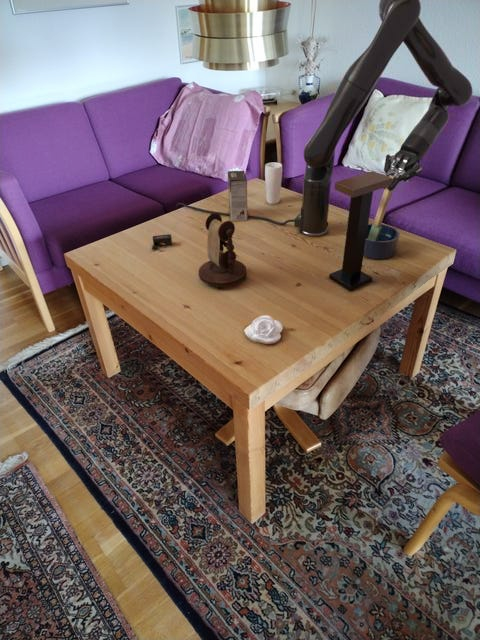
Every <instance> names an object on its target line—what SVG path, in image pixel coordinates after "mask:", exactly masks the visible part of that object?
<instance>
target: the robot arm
mask: <svg viewBox="0 0 480 640" xmlns="http://www.w3.org/2000/svg"><path fill="white" fill-rule="evenodd" d="M421 6H422V4H421V1H420V0H379V4H378V15H379V16H378V17H379V19H380V21H381V24H380V26H379V27H378V30H377V32H376V34H375V36H374V37H373V39H372V41H371V43H370V44H369V45H368V47H367V48H366V49H365V50H364V51H363V52H362V53H361V54H360V55H359V56H358V57H357V59H356V60H355V61H354V62H353V63H351V65H349V67H348V68H347V70H346V72H345V73H344V75H343V77H342V79H341V81H340V82H339V85H338V86H337V88H336V90H335V92H334V94H333V96H332V99H331V101H330V103H329V105H328V108H327V110H326V112H325V115H324V118H323V119H322V121H321V123H320V124H319V126H318V127H317V128H316V129H317V130H316V131H315V132H314V134H313V135H312V136H311V137H310V138H309V140H308V141H307V142H306V144H305V146H304V148H303V159H304V162H305V170H304V174H303V183H302V200H301V201H302V202H301V207H300V213H298V215H297V216H296V217H294V219H293V218H292V219H287V220H285V221H284V222H278V221H277V220H273V219H271V218H268V217H263V216H257V215H247V219H254V220H255V219H256V220H261V221H262V220H263V221H266V222H269V223H272V224H275V225H278V226H285V225H286V224H288V223H293V224H294V225H293V227H294V228H298V229H299V234H303V235H305V236H308V237H321V236H324V235H326V234H327V232H328V227H329V221H328V218H329V209H330V199H331V198H330V197H331V189H332V179H333V175H334V174H333V173H334V165H335V157H336V148H337V146H338V143H339V142H340V140H341V138H342V136H343V135H344V133H345V132H346V130H347V128H348V127H349V126H350V125H351V123H352V122H353V120H354V119H355V118H356V117H357V115H358V114H359V112H360V111H361V109H362V108H363V106H364V105H365V104H366V102H367V100H368V98H369V97H370V95H371V93H372V92H373V90H374V88H375V86H376V85H377V83H378V82H379V79H380V78H381V76H382V74H383V73H384V71H385V70H386V68H387V66H388V64H389V63H390V61H391V60H392V58H393V56H394V55H395V54H396V52H397V51H398V49H399V48H400V47H401V45H402V44H404V45H405V46H406V48H407V49H408V51H409V53H410V54H411V56H412V57H413V59H414V61H415V62H416V64H417V65H418V67H419V69H420V70H421V72H422V73H423V75H424V76H425V78H426V79H427V81H428V82H429V83H430V85H432V86H433V87H437V88H436V89H435V91H434V93H433V96H432V98H431V100H430V103H429V106H428V108H427V111H426V112H425V113H424V114H423V116H422V117H421V118H420V120H419V121H418V122H417V124H416V125H415V126H414V127H413V128H412V130H411V131H410V133H409V134H408V135H407V137H406V138H405V140H404V141H403V143H401V145H400V148H399V150H398V151H396V152H395V154H393V155H390V154H389V153H388V154H386V156H385V160H384V167H383V171H384V173H385V176H388V177H389V175H393V176H395V177H394V178H393V179H392V183H391V186H387V189H388V190H389V191H392V190H393V191H394V190H395V189H396V187H397V186H398V184H399V183H401V182H404V183H405V182H408V181H409V180H411V179H413V178H414V177H417V175H419V174H421V173H422V172H423V168H422V166H421V164H420V163H421V161H422V160H423V159H424V157H425V156H426V154H427V153H428V152H429V150H430V149H431V147H432V146H433V145H434V143H435V142H436V140H437V138H438V136H439V135H440V134H441V132H442V131H443V129H444V128H445V127H446V125H447V124H448V122H449V120H450V113H449V112H448V110H447V108H448V107H463V106H466V105H467V104H468V103H469V102H470V101H471V99H472V97H473V91H474V90H473V86H472V83H471V81H470V80H469V79H468V78H467V76H465V74H463V73H462V72H461V71H460V70H459V69H458V68H456V67H455V66H454V65H453V64H452V62H451V60H450V59H449V57H448V55H447V54H446V53H445V51H444V50H443V48H442V47H441V45H440V44H439V43H438V41H436V40H435V38H434V37H433V36H432V35H431V33H430V32H429V31H428V29H427V27H426V26H425V25H424V23H423V22H422V20H421V18H420V15H421V10H422V7H421ZM383 189H384V190H385V187H384V188H383ZM393 191H392V192H393ZM179 206H183V207H185V208H187V209H191V210H195V211H199V212H204V213H207V214H213V213H218V214H219V215H220V216H226V217H227V216H228V217H231V216H230V212H220V211H214V210H208V209H203V208H199V207H195V206H191V205H189V204H186V203H184V202H178V203H176V205H175V207H179Z"/></svg>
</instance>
